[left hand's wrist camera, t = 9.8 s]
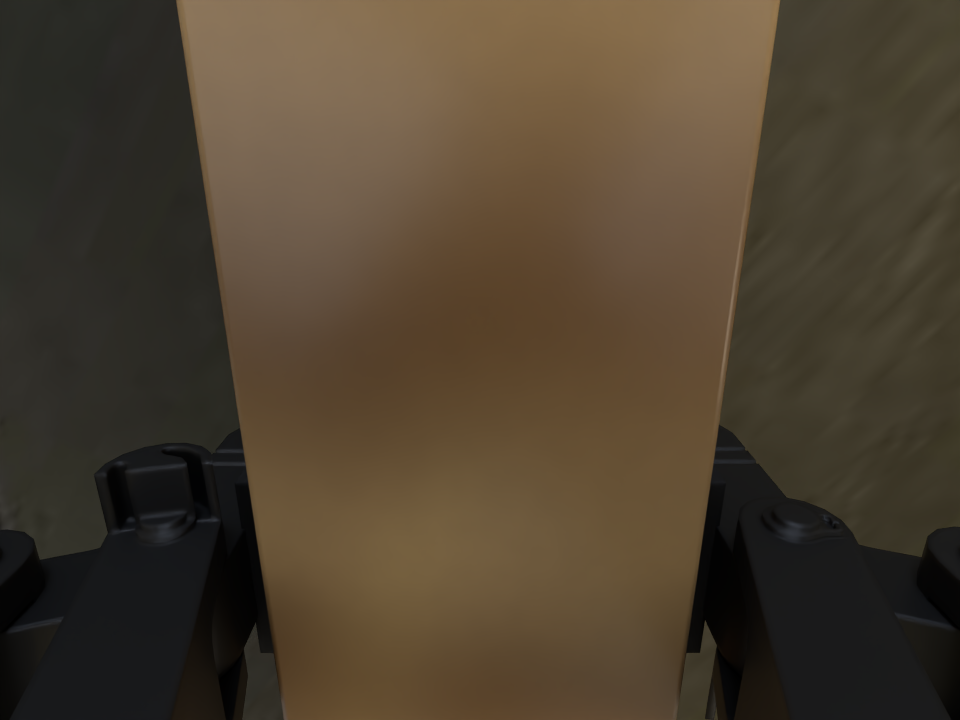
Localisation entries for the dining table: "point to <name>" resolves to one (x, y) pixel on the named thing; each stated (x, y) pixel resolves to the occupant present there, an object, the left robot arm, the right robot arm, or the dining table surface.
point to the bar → (479, 334)
